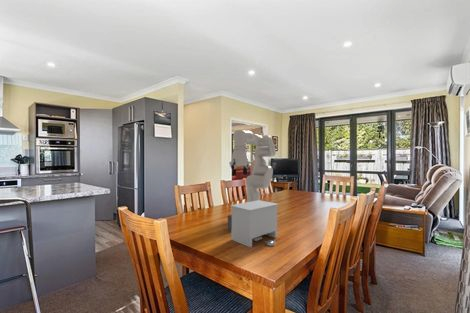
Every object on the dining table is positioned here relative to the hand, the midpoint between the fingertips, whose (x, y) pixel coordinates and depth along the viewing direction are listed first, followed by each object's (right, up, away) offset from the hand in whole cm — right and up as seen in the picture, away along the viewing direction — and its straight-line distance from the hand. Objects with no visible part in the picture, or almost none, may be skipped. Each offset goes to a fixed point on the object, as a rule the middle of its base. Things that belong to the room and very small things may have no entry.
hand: (239, 174), depth 153 cm
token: (+15, -34, -32) cm, 49 cm away
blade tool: (+2, -33, -17) cm, 37 cm away
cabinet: (+8, -34, -24) cm, 42 cm away
